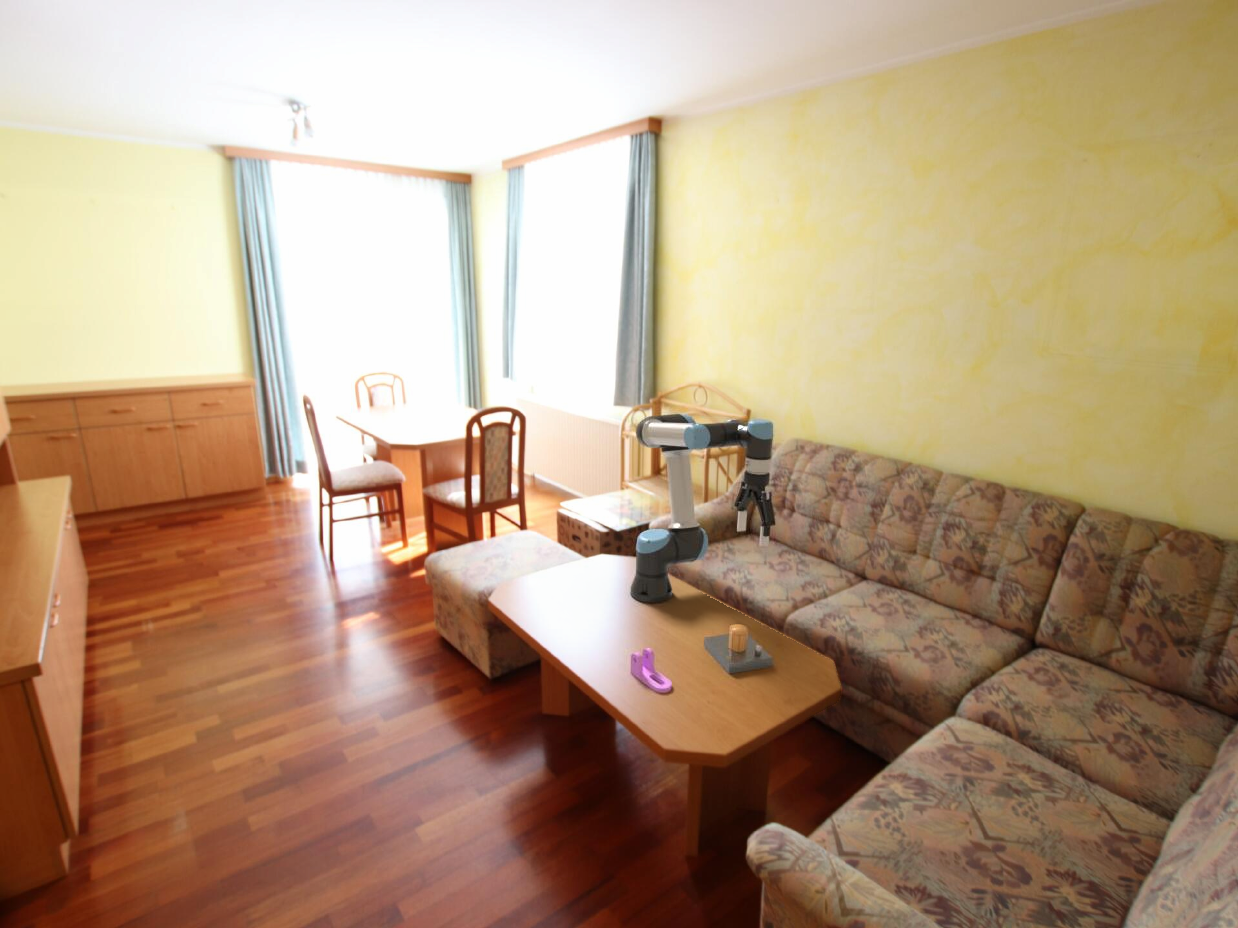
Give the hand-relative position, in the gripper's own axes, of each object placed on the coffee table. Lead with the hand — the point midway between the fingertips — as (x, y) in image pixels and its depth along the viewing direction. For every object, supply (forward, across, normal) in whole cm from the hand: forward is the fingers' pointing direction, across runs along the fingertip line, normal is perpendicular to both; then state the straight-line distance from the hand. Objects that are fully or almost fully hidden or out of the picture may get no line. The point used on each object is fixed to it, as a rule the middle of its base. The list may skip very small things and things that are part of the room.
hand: (752, 538), depth 199 cm
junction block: (+33, +11, -9) cm, 36 cm away
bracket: (+33, +16, -38) cm, 53 cm away
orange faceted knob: (+30, +11, -9) cm, 33 cm away
